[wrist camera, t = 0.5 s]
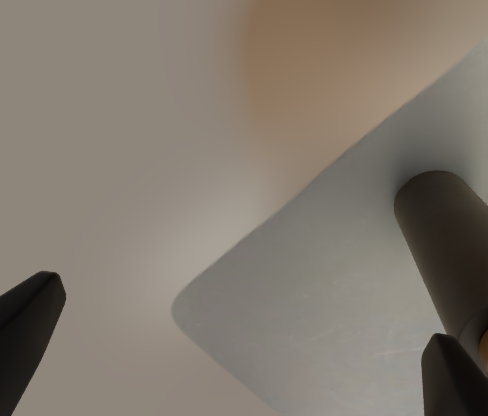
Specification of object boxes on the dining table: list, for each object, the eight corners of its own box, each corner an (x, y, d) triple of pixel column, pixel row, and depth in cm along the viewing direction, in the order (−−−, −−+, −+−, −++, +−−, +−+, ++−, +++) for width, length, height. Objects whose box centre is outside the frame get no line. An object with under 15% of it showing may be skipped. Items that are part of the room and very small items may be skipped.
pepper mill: (427, 249, 26) (523, 434, 14) (378, 206, 25) (436, 364, 14) (487, 203, 24) (653, 372, 12) (436, 155, 23) (561, 287, 12)
